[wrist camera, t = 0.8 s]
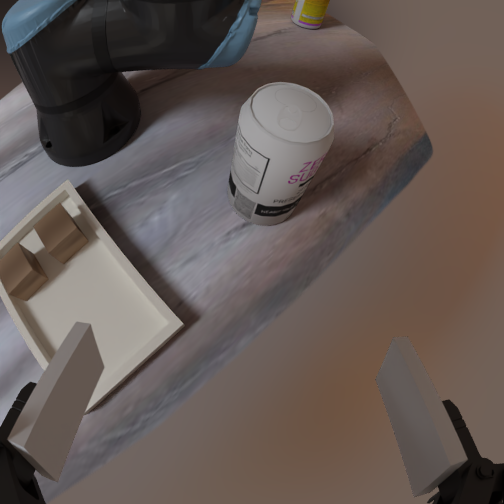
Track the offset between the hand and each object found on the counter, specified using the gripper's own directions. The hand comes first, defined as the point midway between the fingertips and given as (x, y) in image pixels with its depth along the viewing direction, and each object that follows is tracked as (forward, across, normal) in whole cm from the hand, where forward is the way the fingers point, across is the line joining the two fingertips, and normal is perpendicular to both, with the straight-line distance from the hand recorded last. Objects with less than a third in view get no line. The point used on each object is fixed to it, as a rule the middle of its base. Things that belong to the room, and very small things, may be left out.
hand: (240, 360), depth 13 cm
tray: (+16, -19, -9) cm, 26 cm away
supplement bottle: (+60, +10, +31) cm, 68 cm away
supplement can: (+27, +2, -1) cm, 27 cm away
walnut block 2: (+19, -20, -4) cm, 28 cm away
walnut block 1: (+16, -25, -7) cm, 30 cm away
